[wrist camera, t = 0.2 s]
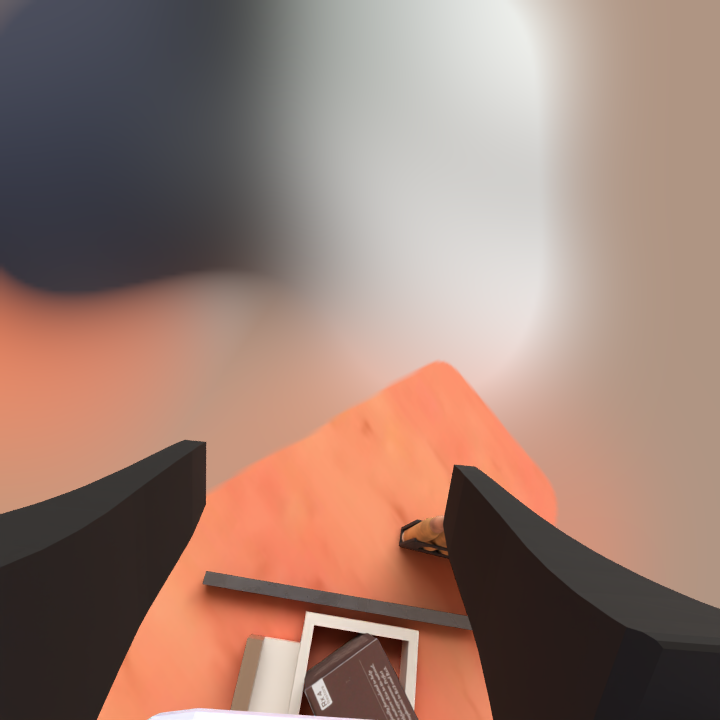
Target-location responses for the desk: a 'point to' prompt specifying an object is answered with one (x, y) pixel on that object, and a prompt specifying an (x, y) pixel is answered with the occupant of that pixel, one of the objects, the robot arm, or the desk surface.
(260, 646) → the frame
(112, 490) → the robot arm
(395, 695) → the box
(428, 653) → the desk surface
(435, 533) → the ammunition clip
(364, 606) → the track
